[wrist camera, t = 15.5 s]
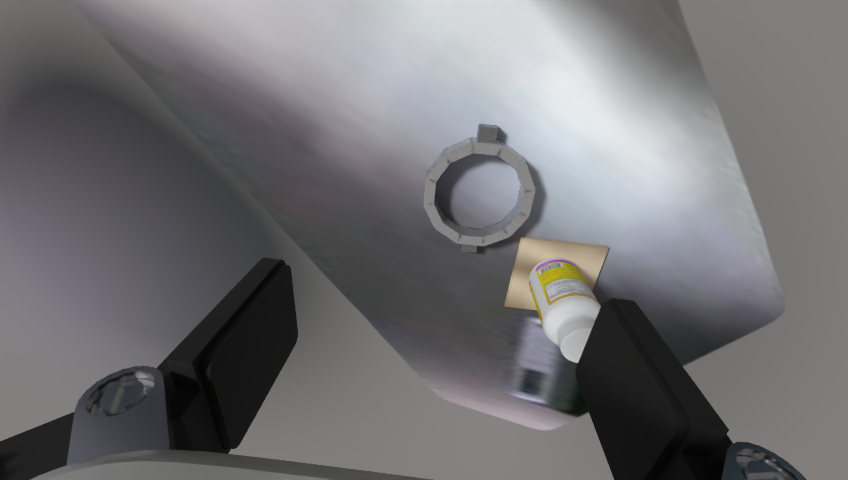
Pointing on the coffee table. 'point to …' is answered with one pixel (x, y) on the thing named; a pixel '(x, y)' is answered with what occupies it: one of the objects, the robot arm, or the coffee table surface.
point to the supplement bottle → (564, 304)
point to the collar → (497, 231)
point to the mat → (541, 249)
